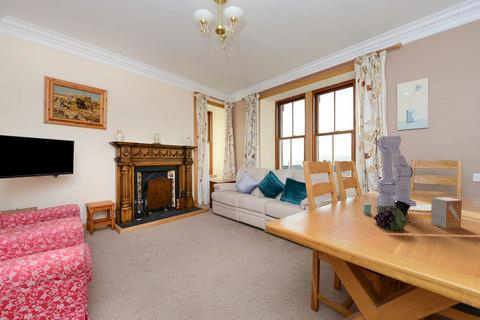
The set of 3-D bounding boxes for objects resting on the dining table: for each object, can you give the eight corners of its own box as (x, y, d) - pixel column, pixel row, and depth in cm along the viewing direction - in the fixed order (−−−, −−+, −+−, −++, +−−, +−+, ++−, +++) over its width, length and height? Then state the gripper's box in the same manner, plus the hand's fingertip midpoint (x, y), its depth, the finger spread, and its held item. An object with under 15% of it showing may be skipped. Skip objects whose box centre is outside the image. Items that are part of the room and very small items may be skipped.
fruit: (382, 230, 96) (420, 233, 83) (367, 230, 92) (405, 233, 79) (379, 208, 99) (415, 208, 85) (365, 207, 94) (400, 206, 81)
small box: (446, 230, 87) (446, 200, 87) (430, 225, 94) (430, 197, 93) (461, 229, 89) (462, 199, 88) (445, 224, 95) (445, 196, 94)
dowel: (362, 214, 112) (362, 203, 112) (368, 214, 111) (368, 203, 111) (365, 215, 108) (365, 204, 108) (372, 216, 108) (372, 204, 108)
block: (384, 213, 110) (384, 207, 110) (397, 213, 110) (398, 208, 109) (393, 217, 103) (393, 211, 103) (407, 217, 103) (407, 211, 102)
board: (376, 213, 112) (377, 204, 112) (401, 214, 111) (401, 205, 111) (400, 225, 94) (400, 214, 94) (429, 225, 93) (430, 215, 93)
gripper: (385, 187, 109) (384, 212, 109) (404, 192, 94) (404, 221, 95) (398, 187, 108) (398, 212, 109) (421, 192, 94) (420, 221, 94)
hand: (402, 216), depth 102 cm, fingers closed
